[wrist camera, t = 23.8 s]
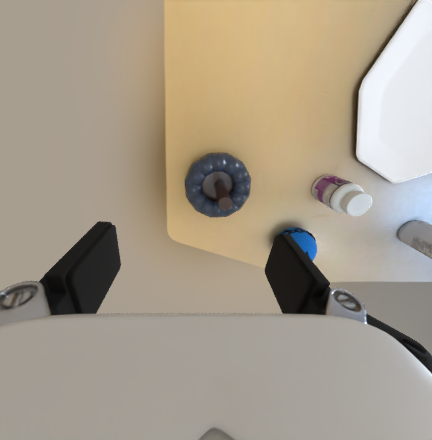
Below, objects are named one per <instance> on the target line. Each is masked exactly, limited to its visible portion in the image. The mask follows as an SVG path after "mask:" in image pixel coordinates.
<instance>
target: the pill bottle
mask: <svg viewBox="0 0 432 440" xmlns="http://www.w3.org/2000/svg"><path fill="white" fill-rule="evenodd" d="M312 194H313V196H314V197H315V198H316V199H317V200H319V201H320V202H322V203H324V204H325V205H327V206H328V207H330V208H331V209H333V210H334V211H336V212H339V213H347V214H349V215H351V216H359V215H362V214H364V213H365V212H366V211H367V210H368V209H369V208H370V207H371V204H372V197H371V196H370V195H369V194H367V193H365V192H363V189H362V188H361V187H360V186H359V185H357V184H355V183H352V182H349V181H347V180H344V179H341V178H339V177H336V176H333V175H324V176H322V177H320V178H318V179H317V180H316V181H315V183H314V184H313V187H312Z"/></svg>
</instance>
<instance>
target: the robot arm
mask: <svg viewBox="0 0 432 440" xmlns="http://www.w3.org/2000/svg"><path fill="white" fill-rule="evenodd" d="M120 266H121V262H120V255H119V248H118V241H117V234H116V228H115V225H112V223H111V222H97V223H96V224H95V225H94V226H93V227H92V229H90V230H89V231H88V232H87V233H86V234H85V235H84V236H83V237H82V238H81V239H80V240H79V241H78V242H77V243H76V244H75V245H74V246H73V247H72V248H71V249H70V250H69V251H68V252H67V253H66V254H65V255H64V256H63V257H62V258H61V259H60V260H59V261H58V262H57V263H56V264H55V265H54V266H53V267H52V268H51V269H50V270H49V271H48V272H47V273H46V274H45V275H44V277H43V278H42V279H41V280H40V281H39V282H37V281H26V282H21V283H17V284H14V285H12V286H9V287H7V288H5V289H4V290H1V291H0V440H432V356H431V354H430V353H429V352H428V351H427V350H426V349H425V348H424V347H423V346H422V345H421V344H419V343H418V342H417V341H415V340H413V339H412V338H410V337H408V336H406V335H404V334H403V333H401V332H399V331H397V330H395V329H394V328H391V327H390V326H388V325H386V324H384V323H382V322H381V321H379V320H377V319H375V318H373V317H371V316H370V315H368V314H366V309H365V306H364V304H363V303H362V301H361V300H360V299H359V298H358V297H356V296H355V295H354V294H352V293H350V292H349V291H346V290H344V289H340V288H333V289H330V287H329V285H330V282H329V281H328V280H327V279H326V278H325V276H324V275H323V274H322V273H321V271H320V270H319V269H318V268H317V267H316V265H315V264H314V263H313V262H312V260H311V259H310V258H309V257H308V256H307V254H306V253H305V252H304V251H303V250H302V248H301V247H300V246H299V245H298V243H297V242H296V241H295V240H294V239H293V237H292V236H291V235H290V234H285V233H280V234H278V235H277V236H276V237H275V239H274V242H273V246H272V249H271V252H270V255H269V258H268V261H267V264H266V267H265V274H266V277H267V279H268V281H269V283H270V285H271V288H272V290H273V292H274V295H275V297H276V299H277V302H278V304H279V306H280V308H281V310H282V313H283V314H262V313H261V314H260V313H259V314H258V313H254V314H253V313H251V314H250V313H113V314H112V313H111V314H108V313H107V314H96V313H97V310H98V309H99V307H100V305H101V303H102V301H103V299H104V298H105V295H106V294H107V292H108V290H109V288H110V286H111V284H112V282H113V281H114V279H115V277H116V275H117V273H118V271H119V269H120Z"/></svg>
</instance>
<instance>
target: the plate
mask: <svg viewBox="0 0 432 440" xmlns="http://www.w3.org/2000/svg"><path fill="white" fill-rule="evenodd" d="M355 155H356V157H357V159H358V160H359V161H360V162H362V163H363V164H365V165H366V166H368V167H369V168H371V169H372V170H373V171H375V172H376V173H378V174H379V175H381V176H382V177H384V178H385V179H387V180H388V181H390V182H391V183H401V182H404V181H407V180H411V179H414V178H417V177H420V176H423V175H426V174H430V173H432V0H417V1H416V3H415V4H414V6H413V7H412V9H411V10H410V12H409V13H408V15H407V16H406V17H405V19H404V20H403V22H402V23H401V25H400V26H399V28H398V29H397V30H396V32H395V33H394V35H393V36H392V38H391V39H390V41H389V42H388V44H387V45H386V46H385V48H384V49H383V51H382V52H381V54H380V55H379V57H378V58H377V59H376V61H375V62H374V64H373V65H372V67H371V68H370V70H369V71H368V73H367V74H366V75H365V77H364V78H363V80H362V82H361V84H360V87H359V90H358V104H357V128H356V151H355Z"/></svg>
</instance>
